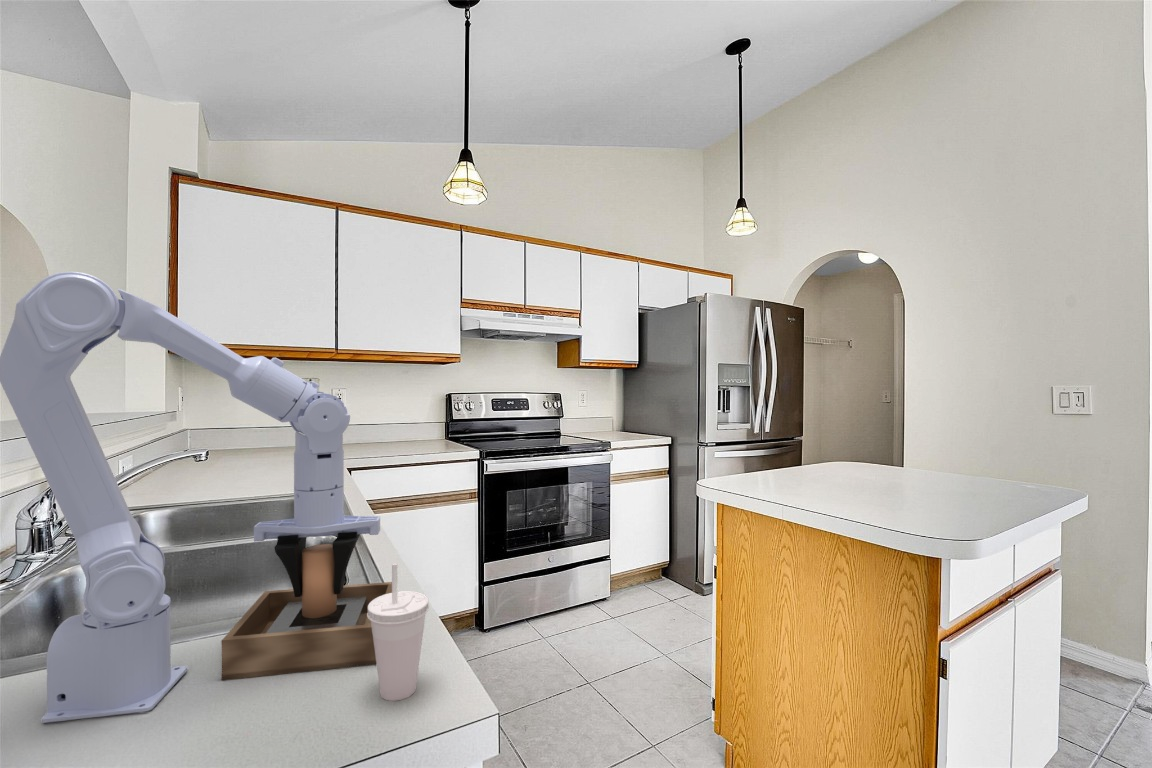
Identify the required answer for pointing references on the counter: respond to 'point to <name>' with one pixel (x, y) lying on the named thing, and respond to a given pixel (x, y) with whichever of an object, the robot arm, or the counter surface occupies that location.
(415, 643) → the smoothie
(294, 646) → the socket box
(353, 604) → the socket plate
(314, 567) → the peg
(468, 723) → the counter surface
